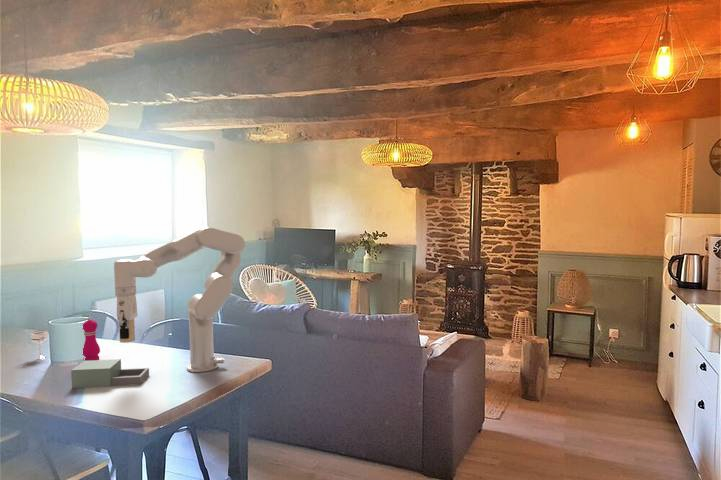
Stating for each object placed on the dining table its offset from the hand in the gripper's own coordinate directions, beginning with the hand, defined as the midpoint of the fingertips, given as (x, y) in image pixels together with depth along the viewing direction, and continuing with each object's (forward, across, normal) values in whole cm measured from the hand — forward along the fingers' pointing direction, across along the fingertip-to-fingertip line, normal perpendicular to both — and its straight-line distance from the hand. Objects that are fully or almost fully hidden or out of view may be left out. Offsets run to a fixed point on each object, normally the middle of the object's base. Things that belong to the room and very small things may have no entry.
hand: (127, 336), depth 201 cm
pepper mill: (+18, +30, +26) cm, 44 cm away
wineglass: (+18, +39, +52) cm, 67 cm away
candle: (+2, 0, 0) cm, 2 cm away
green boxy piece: (+18, 0, +6) cm, 19 cm away
